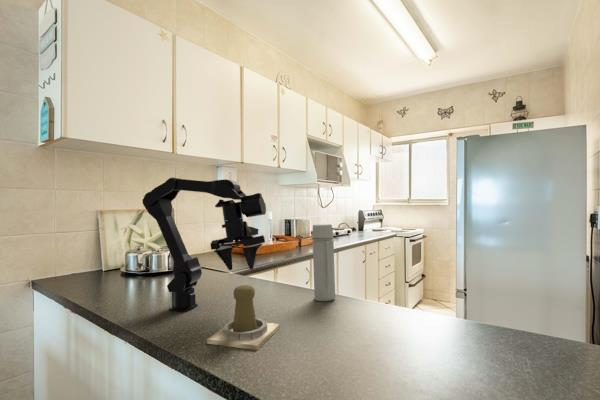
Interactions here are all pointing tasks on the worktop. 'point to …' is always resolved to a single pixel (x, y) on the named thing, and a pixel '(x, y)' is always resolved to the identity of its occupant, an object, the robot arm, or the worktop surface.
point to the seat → (244, 335)
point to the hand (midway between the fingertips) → (240, 269)
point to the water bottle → (323, 262)
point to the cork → (244, 309)
